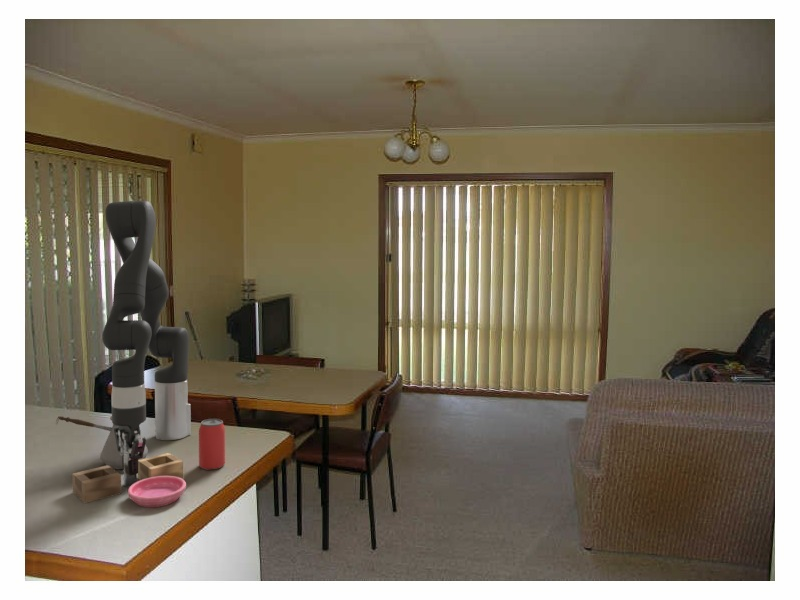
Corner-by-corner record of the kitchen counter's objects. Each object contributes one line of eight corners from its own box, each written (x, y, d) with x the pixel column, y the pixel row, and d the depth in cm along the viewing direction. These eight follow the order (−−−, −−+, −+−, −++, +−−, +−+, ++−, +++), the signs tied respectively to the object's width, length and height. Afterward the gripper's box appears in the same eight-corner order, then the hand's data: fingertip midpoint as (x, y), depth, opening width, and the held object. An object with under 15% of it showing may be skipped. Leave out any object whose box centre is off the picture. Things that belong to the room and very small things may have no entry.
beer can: (230, 463, 162) (229, 419, 160) (214, 472, 155) (214, 427, 154) (209, 459, 164) (209, 417, 162) (193, 468, 158) (193, 423, 156)
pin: (134, 481, 148) (133, 441, 147) (138, 484, 146) (138, 444, 145) (122, 484, 146) (121, 444, 145) (127, 487, 144) (126, 447, 143)
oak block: (168, 469, 156) (168, 452, 156) (183, 478, 151) (183, 461, 150) (137, 477, 150) (137, 460, 150) (151, 487, 145) (151, 469, 145)
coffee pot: (143, 453, 168) (142, 400, 166) (152, 466, 158) (151, 410, 157) (55, 467, 156) (53, 410, 154) (58, 482, 146) (57, 422, 145)
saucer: (167, 513, 132) (167, 499, 132) (116, 508, 134) (116, 494, 134) (195, 490, 144) (195, 477, 144) (148, 485, 146) (148, 473, 146)
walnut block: (108, 482, 147) (107, 465, 146) (121, 493, 141) (120, 474, 141) (72, 492, 141) (72, 473, 141) (84, 503, 136) (84, 483, 135)
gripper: (157, 406, 142) (158, 476, 144) (132, 394, 152) (134, 460, 154) (124, 412, 137) (126, 485, 139) (101, 399, 146) (103, 468, 148)
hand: (130, 472), depth 146 cm, fingers closed on pin, 2 cm apart
